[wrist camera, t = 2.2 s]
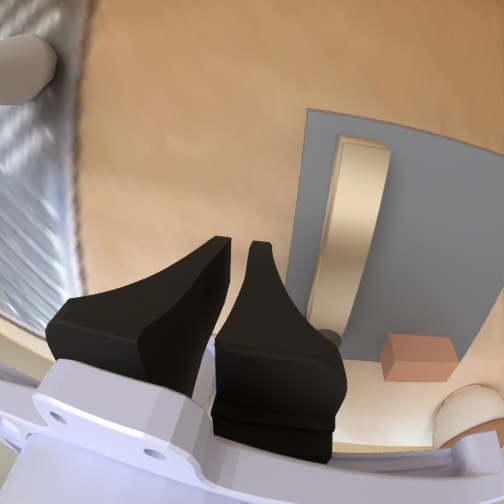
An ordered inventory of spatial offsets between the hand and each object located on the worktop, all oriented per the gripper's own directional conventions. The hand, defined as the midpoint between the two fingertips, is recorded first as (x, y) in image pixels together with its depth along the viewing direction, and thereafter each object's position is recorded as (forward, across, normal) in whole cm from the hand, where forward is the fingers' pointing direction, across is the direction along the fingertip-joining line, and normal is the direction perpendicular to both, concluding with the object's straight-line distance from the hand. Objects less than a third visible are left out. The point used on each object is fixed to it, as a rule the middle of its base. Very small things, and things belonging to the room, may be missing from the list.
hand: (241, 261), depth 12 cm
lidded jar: (+11, -27, +23) cm, 37 cm away
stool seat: (+10, -11, +4) cm, 16 cm away
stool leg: (+8, -5, +3) cm, 10 cm away
